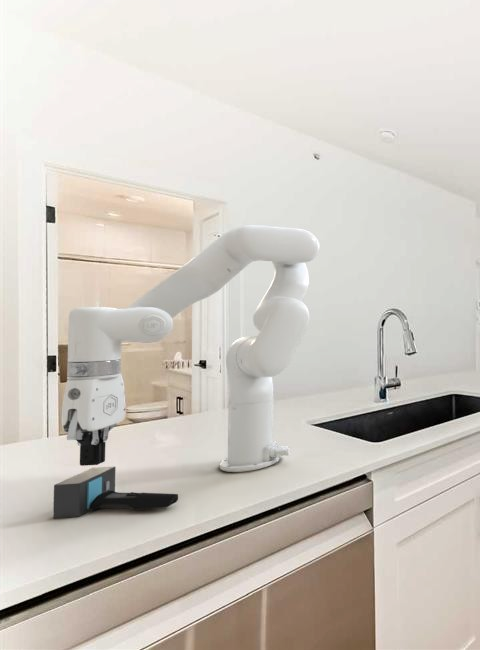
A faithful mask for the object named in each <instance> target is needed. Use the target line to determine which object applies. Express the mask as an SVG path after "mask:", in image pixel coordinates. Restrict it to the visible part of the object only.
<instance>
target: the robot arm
mask: <svg viewBox="0 0 480 650" xmlns="http://www.w3.org/2000/svg"><path fill="white" fill-rule="evenodd" d="M320 247H321V246H320V242H319V240H318V238H317V237H316V235H315V234H314V233H312V232H311V231H309V230H306V229H304V228H297V227H285V226H271V225H261V224H246V225H242V226H238V227H235V228H233V229H230V230H228V231H225V232H224V233H223V234H222V235H220V236H219V237H218V238H216V239H215V240H214V241H213V242H212V243H210V244H209V245H208V246H206V247H205V248H204V249H203V250H202V251H200V252H199V253H197V254H196V255H194V257H193V258H191V259H190V260H189V261H187V262H186V263H185V264H183V265H182V266H181V267H179V268H178V269H176V270H175V271H174V272H173V273H171V274H170V275H169V276H168V277H166V278H165V279H163V280H162V281H160V282H159V283H158V284H156V285H155V286H153V288H151V289H149V290H148V291H147V292H146V293H144V294H143V295H142V296H140V297H138V299H137V300H135V301H134V302H133V303H132V304H130V305H129V306H128V307H126V308H115V307H108V306H107V307H105V306H80V307H75V308H72V310H70V312H69V314H68V327H67V329H68V331H67V332H68V333H67V365H66V366H67V368H66V369H67V371H66V376H67V377H66V383H65V387H64V391H63V398H62V406H61V418H60V419H61V420H60V421H61V422H60V423H61V429H62V431H63V432H65V433H67V435H66V440H67V441H76V443H77V446H79V465H80V466H81V467H85V466H86V467H87V466H98V465H99V464H103V463H105V461H106V442H107V441H108V438H109V433H110V431H111V430H112V429H115V428H116V427H117V424H119V423H121V422H124V421H125V419H126V417H127V413H126V412H127V410H126V409H127V406H126V405H127V403H126V401H127V400H126V390H125V389H126V388H125V383H124V378H123V375H122V343H123V342H127V343H141V344H142V343H143V344H153V343H158V342H160V341H163V340H164V339H166V338H167V337H168V336H170V334H171V333H172V331H173V329H174V320H173V319H174V317H176V316H178V315H179V314H180V313H181V312H182V311H184V310H186V309H187V308H189V307H190V306H192V305H193V304H195V303H198V302H200V301H202V300H204V299H207V298H209V297H211V296H212V295H214V294H216V293H218V292H219V291H220V290H222V288H223V287H225V286H226V285H227V284H228V283H229V282H230V281H231V280H232V279H233V278H234V277H236V276H237V275H238V274H240V273H241V272H242V270H245V268H246V267H247V266H249V265H250V264H252V263H253V262H260V261H262V262H271V263H272V265H273V268H274V276H273V279H272V281H271V283H270V286H269V287H268V289H267V290H266V292H265V294H264V295H263V297H262V299H261V300H260V302H259V304H258V306H257V307H256V309H255V310H254V313H253V315H252V321H253V326H254V327H255V329H257V331H259V332H258V334H257V335H246V336H243V337H240V338H238V339H235V341H233V343H231V344H230V346H229V347H228V349H227V351H226V356H225V366H226V375H227V380H228V381H227V382H228V406H227V408H228V411H227V414H228V415H227V457H226V458H225V459H223V460H222V461H220V462H219V469H220V470H221V471H223V472H227V473H228V472H229V473H243V472H251V471H257V470H260V469H261V470H262V469H264V468H268V467H270V466H272V465H274V464H276V463H278V462H279V461H280V457H285V456H290V454H291V447H289V446H288V445H282V446H279V445H277V443H278V442H277V440H274V438H273V435H274V434H273V433H274V382H273V377H275V376H277V375H280V374H281V373H283V371H284V370H286V368H287V367H288V365H289V364H290V362H291V361H292V359H293V357H294V355H295V353H296V351H297V349H298V348H299V346H300V344H301V342H302V340H303V338H304V336H305V334H306V332H307V330H308V327H309V325H310V311H309V309H308V307H307V305H306V304H305V303H304V302H303V301H304V298H305V296H306V294H307V292H308V289H309V286H310V275H309V270H308V266H307V264H306V263H309V262H311V261H314V259H316V257H317V256H318V255H319V252H320Z"/></svg>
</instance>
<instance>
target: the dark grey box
mask: <svg viewBox="0 0 480 650" xmlns="http://www.w3.org/2000/svg"><path fill="white" fill-rule="evenodd" d="M108 491H115V492H116V466H100V467H91V468H89V469H87V470H85V471H82V472H80V473H78V474H76V475H75V474H74V475H73V476H71V477H68V478H67V479H64V480H62V481H60V482H58V483H56V484H53V516H52V518H53V519H63V518H78V517H80V516H83V515H84V514H86V513H88V512H90V511H92V510H91V509H89V507H90V505H91V503H92V502H93V500H94V499H95V498H96V497H97V496H98V495H99V494H101V493H104V492H108Z"/></svg>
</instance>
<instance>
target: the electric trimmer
mask: <svg viewBox="0 0 480 650" xmlns="http://www.w3.org/2000/svg"><path fill="white" fill-rule="evenodd" d="M178 500H179V494H178V493H163V492H162V493H160V492H156V493H155V492H133V491H131V492H120V491H119V492H117V491H116V490H115V491H108V492H104V493H101V494H99V495H98V496H97V497H96V498H95V499H94V500H93V502H92V503H91V505H90V507H89V509H91V510H90V511H92V512H93V511H98V510H100V509H131V510H132V511H139V510H151V509H164V508H168V507H170V506H172V505H174V504H176V503H177V502H178Z"/></svg>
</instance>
